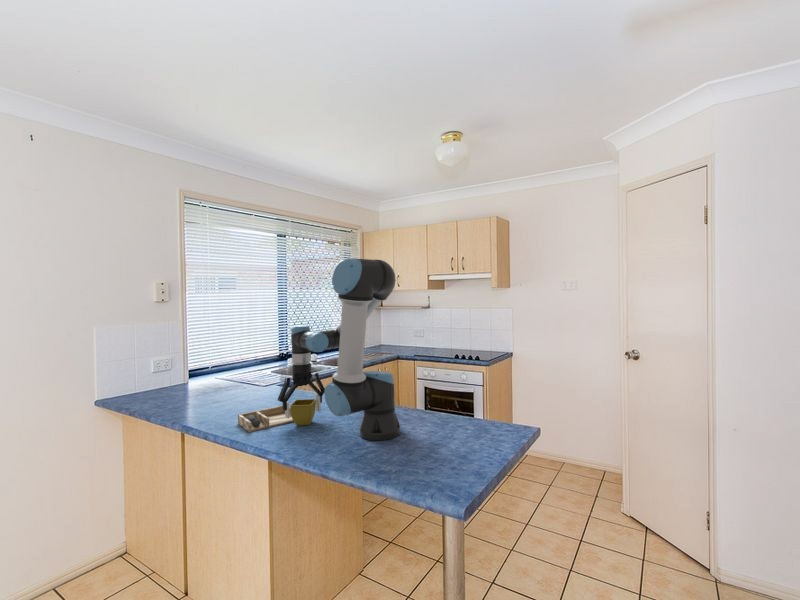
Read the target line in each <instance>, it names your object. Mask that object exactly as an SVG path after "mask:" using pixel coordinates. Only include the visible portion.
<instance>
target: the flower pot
mask: <svg viewBox="0 0 800 600" xmlns="http://www.w3.org/2000/svg"><path fill="white" fill-rule="evenodd" d="M289 407H290V409H291V415H292V419H293V421H294V422H293V423H294V424H295V426H309V425H310V424H311V423H312V421H313V419H314V417H315V414H316V398H315V399H314V398H312V399H308V398H307V399H306V398H305V399H295V400H294V401H293V402H292V403H291V404H289Z"/></svg>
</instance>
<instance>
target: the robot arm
mask: <svg viewBox="0 0 800 600" xmlns="http://www.w3.org/2000/svg"><path fill="white" fill-rule="evenodd" d="M331 284H332V286H333V287H332V289H333V290H334V292H335V293H337V295H338V296H337V298H338V300H340V302H341V303H342V305H341V315H340V316H341V319H340V322H339V324H338V326H337V327H336V328H335V329H329V330H321V331H320V330H318V331H311V327H310V326H309V325H305V324H303V325H302V324H301V325H294V326H292V327H291V329H290V330H291V332H290V333H291V334H290V337H291V340H290V341H291V362H292V363H293V364H292V365H291V366H292V367H291V368H292V376H285V377H284V383H283V386H282V387H281V390H280V393H279V395H278V398H277V401H278V402H280V403H282V406H283V410H285V417H286V418H287V419H289V418H290V415H289V407H290V402H289V399H290V398H291V397H292V395H293V394H294V392H295V391H296V390H297V389H298V387H303V386H309V387H310V388H311V389H312V390H313V392H314V393H316V394H315V399H316V407H315V412H316V411H317V413H318V412H319V413H320V412H321V410H322V409H321V404H322V403H323V396H324V401H325V404H326V406H327V408H328V409H329V411H330V413H332V414H333V415H334V416H335V417H344V416H350V415H352V414H355V413H359V412H363V416H362V420H361V423H360V427H359V435H360V437H361V438H362V439H365V440H368V441H387V440H390V439H394V438H397V437H398V436H400V434H401V425H400V422H399V419H398V416H397V414H396V405H395V404H396V403H395V382H394V380H395V379H394V376H393V374H392V373H391V372H389V371H383V370H382V371H380V370H365V371H363V368H364V357H365V346H366V345H365V343H366V332H367V320H368V319H369V318H370V316H371V315H372V313H373V312H374V311H375V310H376V308H377V307H378V306H379V305H380V303H381V302H383V301H387V299H388V298H389V296H390V295H391V293H392V292H393V290H394V289H395V285H396V273H395V270H394V268H393V267H392V266H391V265H390V264H389V263H388V262H387V261H385V260H382V259H368V258H357V257H356V258H355V257H353V258H344V259H342V260H340V261H339V262H338V263H337V264H336V266H335V267H334V269H333V272H332V276H331ZM332 349H338V360H337V370H336V371H335V372H334V373H333V374H332V377H331V378H332V381H331V382H329V383H327V384H326V386H324V384H323V383H322V382H323V381H322V380H321V379H320V375H319V373H318V372H316V371H314V372H313V373H312V363H311V361H312V357H311V356H312V355H311V353H312V352H313V353H320V352H321V353H322V352H324V351H326V350H332ZM312 378H313V379H314V381H315V383H316V384H317V386H318V387H317V386H316V385H315V384H314V382H313V381H312ZM292 381H293V382H292ZM291 383H292V384H291ZM290 384H291V386H290Z"/></svg>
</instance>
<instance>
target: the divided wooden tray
mask: <svg viewBox="0 0 800 600" xmlns="http://www.w3.org/2000/svg"><path fill="white" fill-rule="evenodd" d="M249 415H253V416H254V417H256V418H257V419H259V420H260V425H259V426H254V425H253V424H251V421H249V420H248V419H247V417H248V416H249ZM289 415H290V418H289V419H287V418H286V417H285V410H283V405H278V406H273V407H268V408H264V409H259V410H254V411H249V412H244V413H239V414H237V424H238V425H239V426H241V427H242V428H243V429H244V430H246V431H247V432H248V433H252V432H257V431H261V430H264V429H269V428H274V427H278V426H282V425H286V424H291V423H294V421H293V419H292V415H291V409H290V406H289Z"/></svg>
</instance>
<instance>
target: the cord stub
mask: <svg viewBox="0 0 800 600" xmlns="http://www.w3.org/2000/svg"><path fill="white" fill-rule="evenodd" d="M247 419H248V420H249V421H251V424H253V425H254V426H259V425H260V420H259V419H257V418H256V417H254V416H253V415H249V416H248V417H247Z"/></svg>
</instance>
